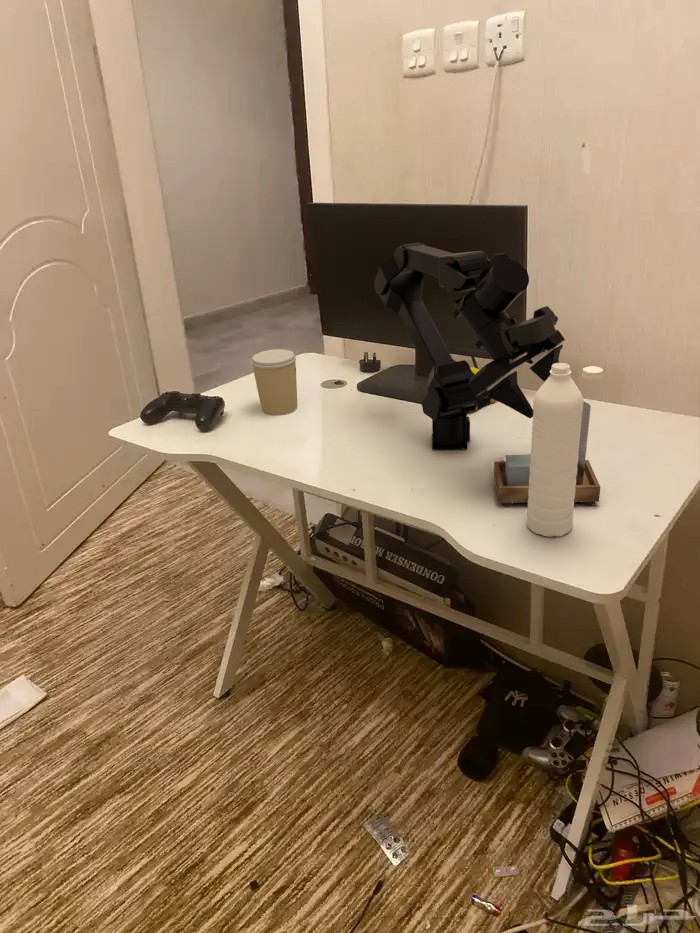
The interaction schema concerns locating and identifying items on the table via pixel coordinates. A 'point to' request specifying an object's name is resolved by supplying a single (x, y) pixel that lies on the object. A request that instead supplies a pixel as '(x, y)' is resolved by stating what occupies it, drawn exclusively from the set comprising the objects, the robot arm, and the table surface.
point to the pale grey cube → (517, 470)
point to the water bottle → (555, 451)
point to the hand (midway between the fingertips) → (549, 405)
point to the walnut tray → (519, 494)
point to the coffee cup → (276, 381)
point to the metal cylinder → (583, 443)
